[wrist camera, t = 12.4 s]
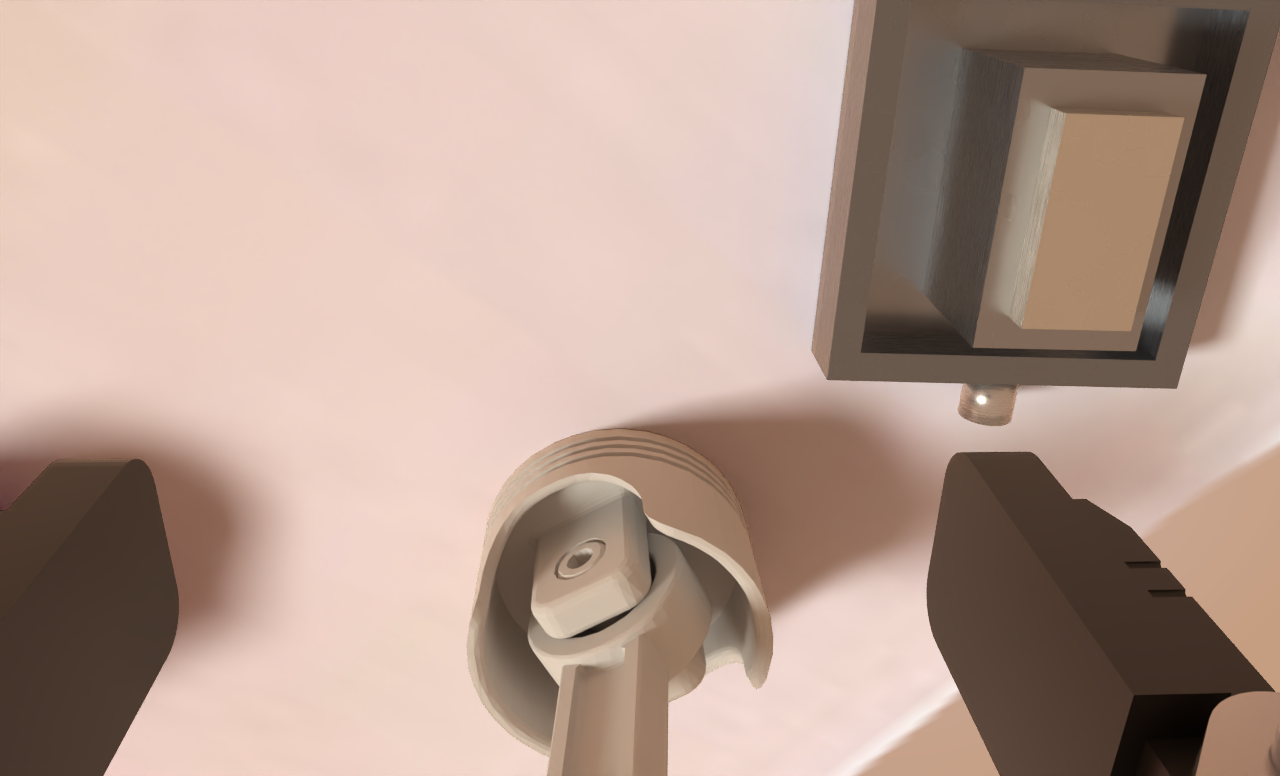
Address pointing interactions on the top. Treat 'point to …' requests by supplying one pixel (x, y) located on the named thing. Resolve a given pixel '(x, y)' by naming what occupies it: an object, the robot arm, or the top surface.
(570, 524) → the engine component
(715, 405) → the top surface
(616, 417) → the top surface
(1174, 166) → the stepped two-tone block
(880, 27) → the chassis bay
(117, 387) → the top surface
